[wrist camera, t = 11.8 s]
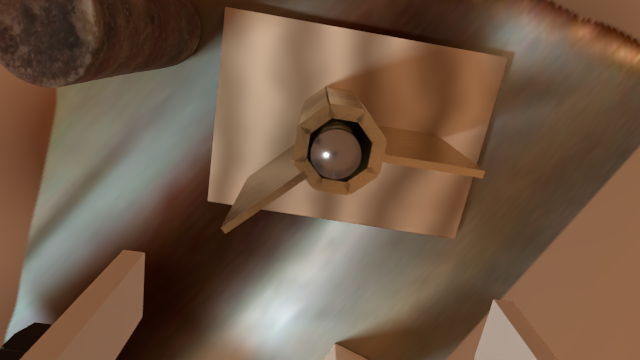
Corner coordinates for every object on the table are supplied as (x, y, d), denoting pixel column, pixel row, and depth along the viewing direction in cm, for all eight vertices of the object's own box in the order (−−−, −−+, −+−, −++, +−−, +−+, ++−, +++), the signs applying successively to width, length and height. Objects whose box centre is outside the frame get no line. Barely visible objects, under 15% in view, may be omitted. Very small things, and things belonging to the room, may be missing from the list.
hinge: (247, 181, 45) (220, 233, 32) (259, 74, 41) (235, 87, 29) (418, 207, 46) (455, 268, 33) (444, 106, 42) (497, 131, 30)
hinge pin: (312, 133, 43) (307, 174, 30) (318, 99, 42) (314, 126, 29) (346, 139, 43) (356, 182, 30) (352, 104, 42) (365, 134, 29)
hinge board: (210, 197, 46) (207, 201, 45) (227, 7, 40) (225, 6, 39) (451, 234, 48) (454, 238, 47) (503, 57, 42) (508, 57, 41)
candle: (170, 83, 43) (52, 114, 24) (111, 31, 41) (-68, 20, 22) (217, 26, 41) (130, 9, 22) (157, -30, 39) (7, -102, 20)
